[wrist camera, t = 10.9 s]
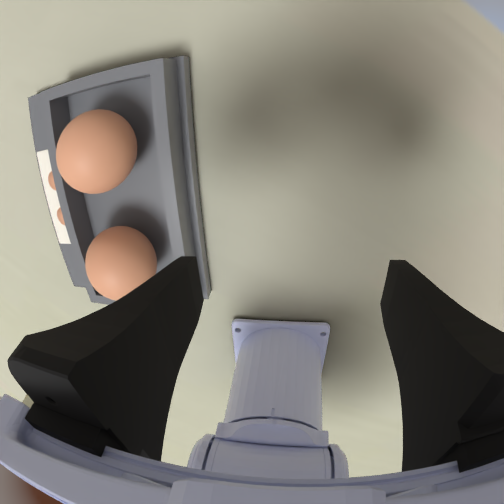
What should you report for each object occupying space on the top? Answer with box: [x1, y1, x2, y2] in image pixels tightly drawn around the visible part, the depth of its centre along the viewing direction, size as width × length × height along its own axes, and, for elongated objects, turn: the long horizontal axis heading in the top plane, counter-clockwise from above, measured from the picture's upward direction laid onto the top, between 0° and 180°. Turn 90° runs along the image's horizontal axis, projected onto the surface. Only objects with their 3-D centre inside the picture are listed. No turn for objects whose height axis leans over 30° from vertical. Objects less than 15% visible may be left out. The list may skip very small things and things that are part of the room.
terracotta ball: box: [56, 109, 137, 194], centre depth 16 cm, size 5×5×5 cm
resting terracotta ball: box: [85, 226, 157, 301], centre depth 19 cm, size 5×5×5 cm
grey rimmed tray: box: [28, 56, 211, 304], centre depth 19 cm, size 17×13×3 cm
